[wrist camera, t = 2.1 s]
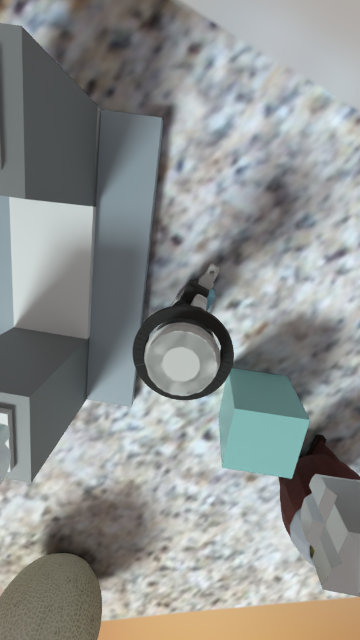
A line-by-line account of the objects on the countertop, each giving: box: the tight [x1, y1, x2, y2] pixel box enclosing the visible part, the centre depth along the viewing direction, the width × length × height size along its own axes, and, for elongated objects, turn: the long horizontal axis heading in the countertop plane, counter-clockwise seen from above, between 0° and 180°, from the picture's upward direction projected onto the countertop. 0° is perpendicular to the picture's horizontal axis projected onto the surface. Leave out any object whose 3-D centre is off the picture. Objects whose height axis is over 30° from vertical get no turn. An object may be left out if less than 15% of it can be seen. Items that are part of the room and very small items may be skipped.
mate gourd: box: [279, 435, 360, 566], centre depth 21 cm, size 8×8×15 cm
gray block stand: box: [0, 23, 164, 483], centre depth 19 cm, size 14×22×10 cm, turn 172°
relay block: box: [219, 368, 310, 479], centre depth 24 cm, size 5×5×6 cm
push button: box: [132, 264, 234, 400], centre depth 20 cm, size 7×5×10 cm
